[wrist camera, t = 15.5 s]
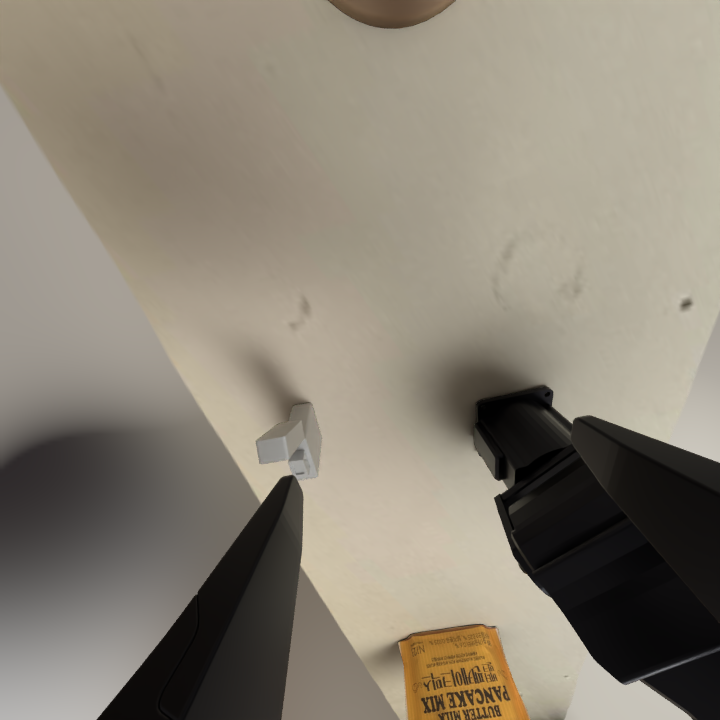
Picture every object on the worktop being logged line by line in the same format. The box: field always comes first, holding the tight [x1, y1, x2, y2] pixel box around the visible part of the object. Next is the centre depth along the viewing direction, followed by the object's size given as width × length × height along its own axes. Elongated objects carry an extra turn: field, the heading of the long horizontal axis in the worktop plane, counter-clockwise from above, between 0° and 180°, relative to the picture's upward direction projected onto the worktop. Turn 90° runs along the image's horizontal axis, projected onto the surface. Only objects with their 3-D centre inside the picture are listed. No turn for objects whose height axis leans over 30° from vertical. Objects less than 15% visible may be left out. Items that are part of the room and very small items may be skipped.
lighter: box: [256, 403, 322, 480], centre depth 20 cm, size 7×2×8 cm, turn 9°
